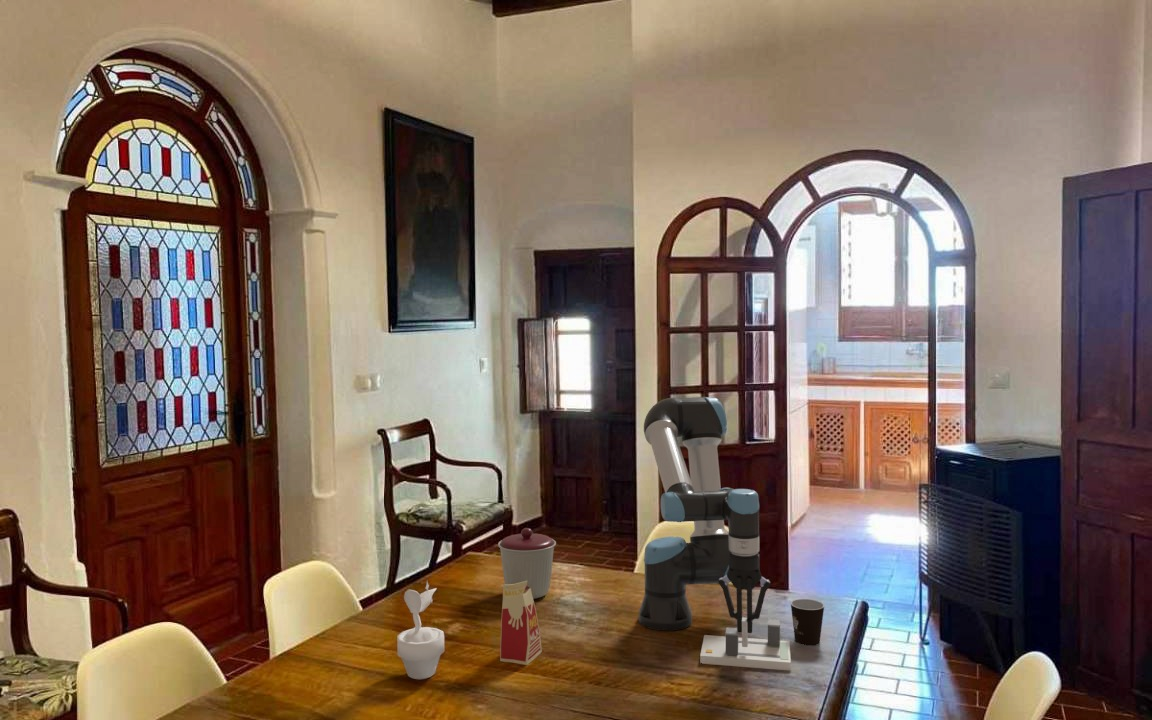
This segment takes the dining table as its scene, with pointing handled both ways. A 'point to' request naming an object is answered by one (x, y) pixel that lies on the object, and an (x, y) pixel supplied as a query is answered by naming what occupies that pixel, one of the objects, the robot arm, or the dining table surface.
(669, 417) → the robot arm
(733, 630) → the block
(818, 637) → the coffee mug
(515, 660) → the milk carton
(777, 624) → the block
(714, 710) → the dining table surface
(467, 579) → the dining table surface
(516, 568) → the canister
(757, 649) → the panel
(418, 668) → the potted plant
